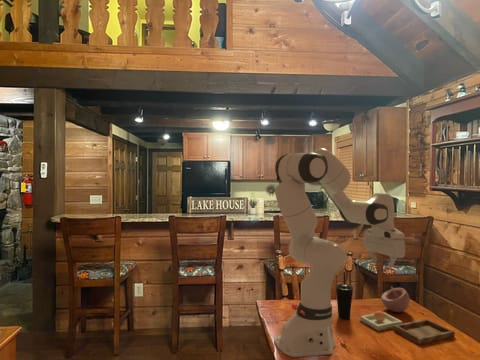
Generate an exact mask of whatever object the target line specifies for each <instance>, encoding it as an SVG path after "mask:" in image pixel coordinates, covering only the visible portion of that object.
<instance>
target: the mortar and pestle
mask: <svg viewBox="0 0 480 360" xmlns="http://www.w3.org/2000/svg"><path fill="white" fill-rule="evenodd" d="M380 299H381V302H382V304H383V306H384V307H385V308H386V309H387V310H389V311H391V312H393V313H402V312H404V311H406V310H407V309H408V307H409V306H410V300H411V299H410V295H409V293H408V292H407V290H406V289H405V288H402V287H393V286H390V289H389V290H386V291H385V292H384V293H382V294H381V297H380Z"/></svg>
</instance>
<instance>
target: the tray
mask: <svg viewBox="0 0 480 360" xmlns="http://www.w3.org/2000/svg"><path fill="white" fill-rule="evenodd" d="M382 312H383V313H384V314H385V320H384V321H383V322H379V321H377V320H376V319H375V317H374V314H375V313H371V314H366V315H360V317H359V319H360V322H362V323H363V324H365V325H367V326H368V327H370V328H371V329H374V330H375V331H377V332H380V331H386V330H390V329H394V325H398V324H403V320H400V319H398V318H397V317H395V316H393V315H391V314H388V313H387V312H385V311H382Z"/></svg>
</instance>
